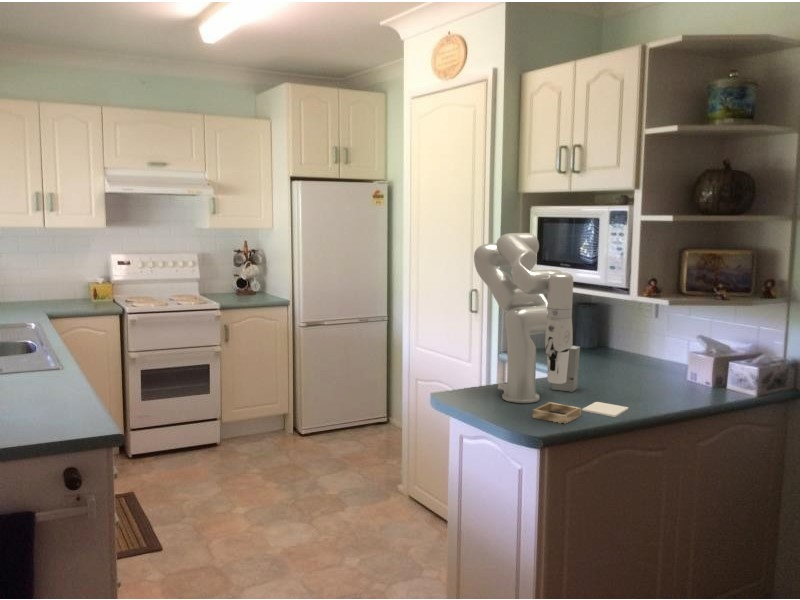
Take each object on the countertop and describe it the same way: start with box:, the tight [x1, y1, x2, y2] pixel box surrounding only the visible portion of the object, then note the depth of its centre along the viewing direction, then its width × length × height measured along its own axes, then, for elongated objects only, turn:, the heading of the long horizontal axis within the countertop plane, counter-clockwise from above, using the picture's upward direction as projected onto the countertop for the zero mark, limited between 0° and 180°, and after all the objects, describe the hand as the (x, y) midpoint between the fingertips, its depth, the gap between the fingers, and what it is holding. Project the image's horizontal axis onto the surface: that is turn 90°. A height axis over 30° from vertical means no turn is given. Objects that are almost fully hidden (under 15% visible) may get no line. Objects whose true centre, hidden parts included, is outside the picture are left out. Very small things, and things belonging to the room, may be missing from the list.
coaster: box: [581, 401, 629, 418], centre depth 231 cm, size 11×11×1 cm
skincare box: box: [550, 345, 581, 393], centre depth 256 cm, size 8×7×16 cm
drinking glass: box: [546, 348, 569, 384], centre depth 223 cm, size 7×7×10 cm
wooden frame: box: [532, 401, 582, 425], centre depth 224 cm, size 11×11×2 cm
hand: (556, 370), depth 223 cm, fingers closed on drinking glass, 3 cm apart
